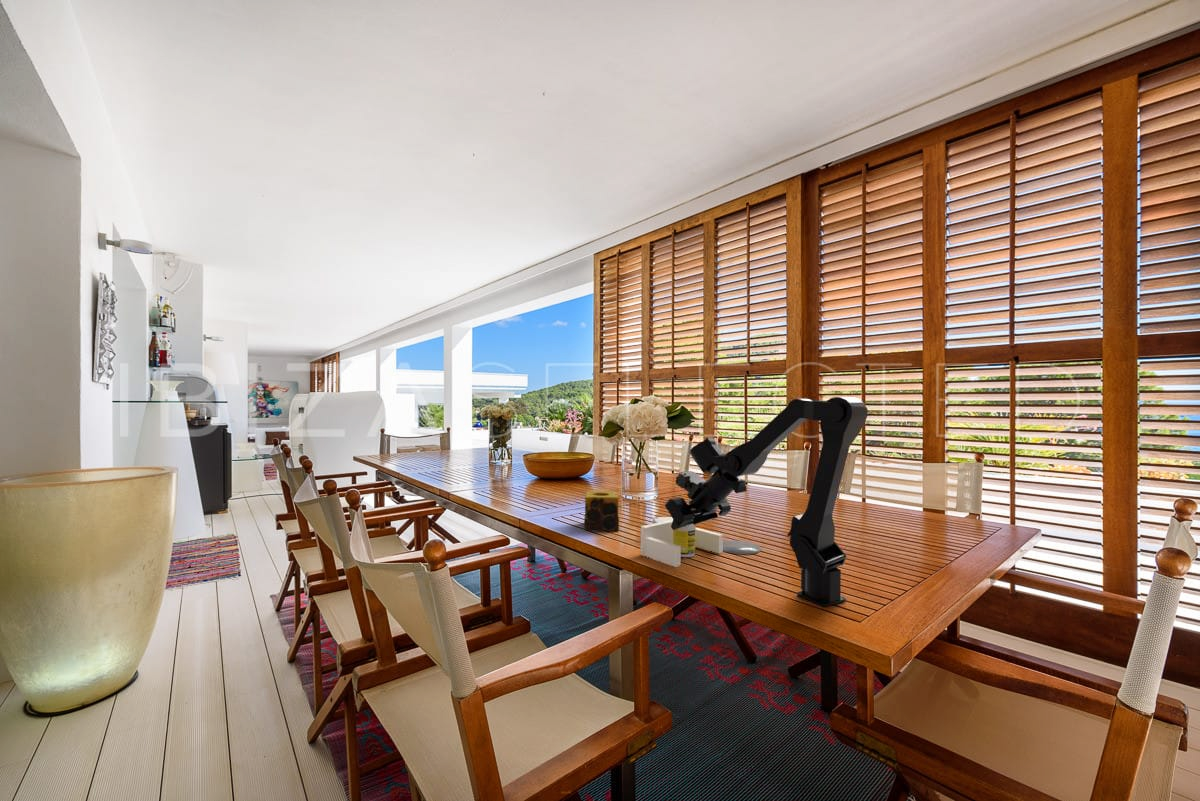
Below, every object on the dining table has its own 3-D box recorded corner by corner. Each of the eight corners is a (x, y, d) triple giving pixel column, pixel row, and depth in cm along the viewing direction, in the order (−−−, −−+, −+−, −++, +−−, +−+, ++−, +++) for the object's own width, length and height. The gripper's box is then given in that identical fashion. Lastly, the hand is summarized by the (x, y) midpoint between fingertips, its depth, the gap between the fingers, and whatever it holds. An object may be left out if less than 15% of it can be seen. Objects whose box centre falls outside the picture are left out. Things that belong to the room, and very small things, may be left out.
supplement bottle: (690, 559, 120) (690, 518, 120) (669, 555, 123) (669, 515, 123) (698, 553, 125) (698, 514, 125) (678, 549, 128) (678, 511, 128)
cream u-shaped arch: (722, 552, 126) (723, 524, 126) (675, 567, 115) (676, 536, 115) (687, 542, 135) (687, 516, 135) (640, 554, 123) (640, 526, 123)
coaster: (770, 550, 128) (770, 549, 128) (737, 556, 122) (737, 555, 122) (739, 539, 137) (739, 538, 137) (707, 545, 132) (707, 543, 132)
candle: (619, 532, 144) (619, 497, 144) (584, 531, 145) (584, 497, 144) (618, 523, 155) (618, 490, 155) (585, 522, 155) (585, 490, 155)
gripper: (721, 458, 127) (687, 495, 135) (671, 464, 115) (637, 504, 124) (748, 494, 121) (710, 530, 129) (698, 505, 109) (660, 544, 118)
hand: (680, 526), depth 125 cm, fingers closed on supplement bottle, 5 cm apart
